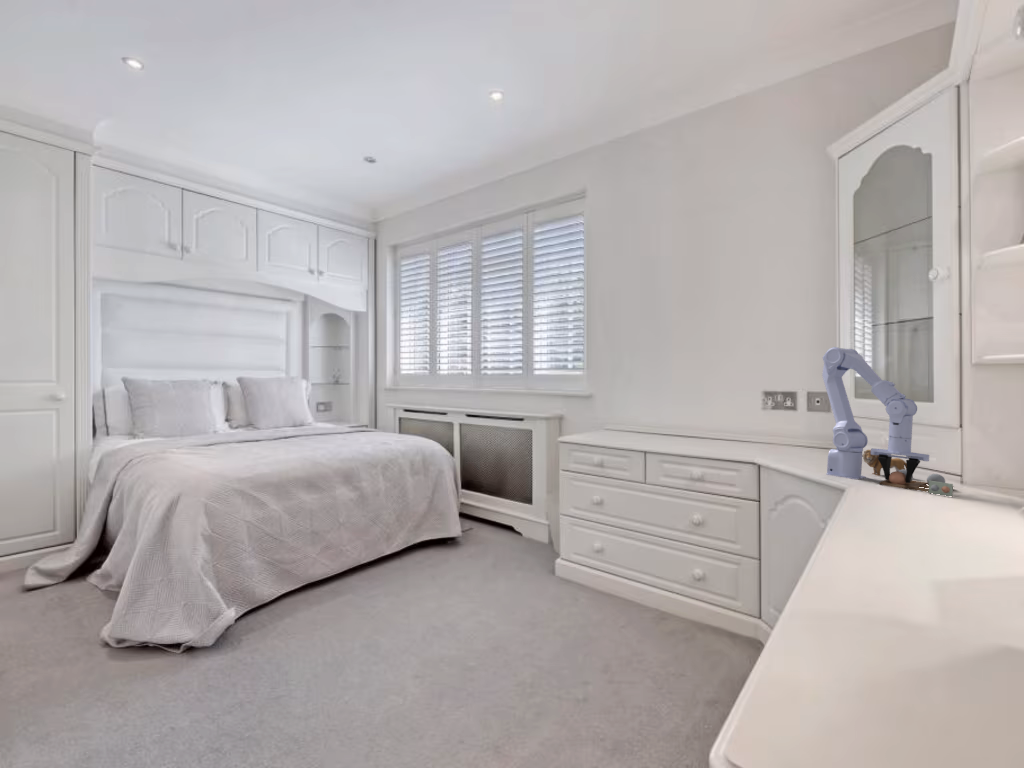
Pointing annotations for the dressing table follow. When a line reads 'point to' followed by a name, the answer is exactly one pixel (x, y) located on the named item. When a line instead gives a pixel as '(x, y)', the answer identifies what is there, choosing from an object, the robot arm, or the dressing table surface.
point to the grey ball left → (905, 473)
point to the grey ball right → (935, 478)
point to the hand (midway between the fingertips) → (897, 480)
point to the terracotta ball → (897, 478)
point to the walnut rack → (908, 485)
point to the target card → (940, 488)
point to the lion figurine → (875, 463)
